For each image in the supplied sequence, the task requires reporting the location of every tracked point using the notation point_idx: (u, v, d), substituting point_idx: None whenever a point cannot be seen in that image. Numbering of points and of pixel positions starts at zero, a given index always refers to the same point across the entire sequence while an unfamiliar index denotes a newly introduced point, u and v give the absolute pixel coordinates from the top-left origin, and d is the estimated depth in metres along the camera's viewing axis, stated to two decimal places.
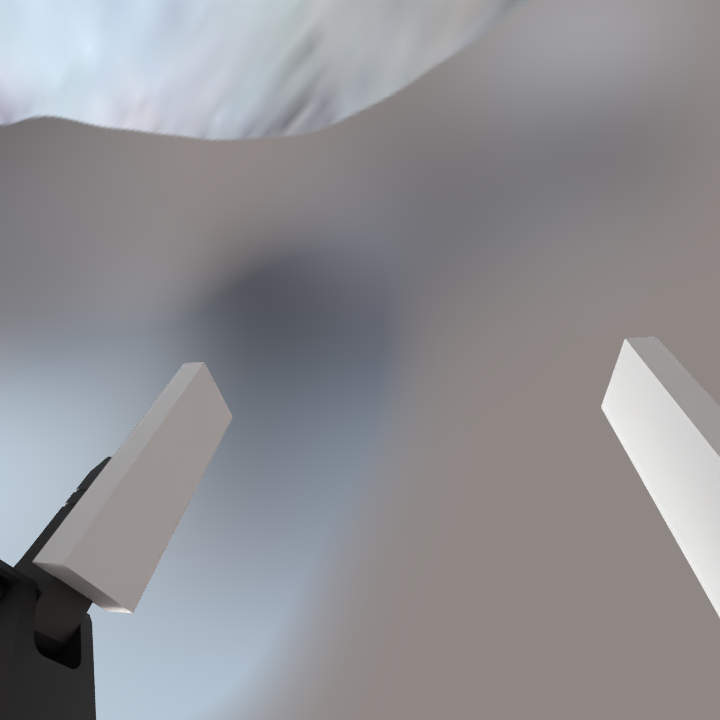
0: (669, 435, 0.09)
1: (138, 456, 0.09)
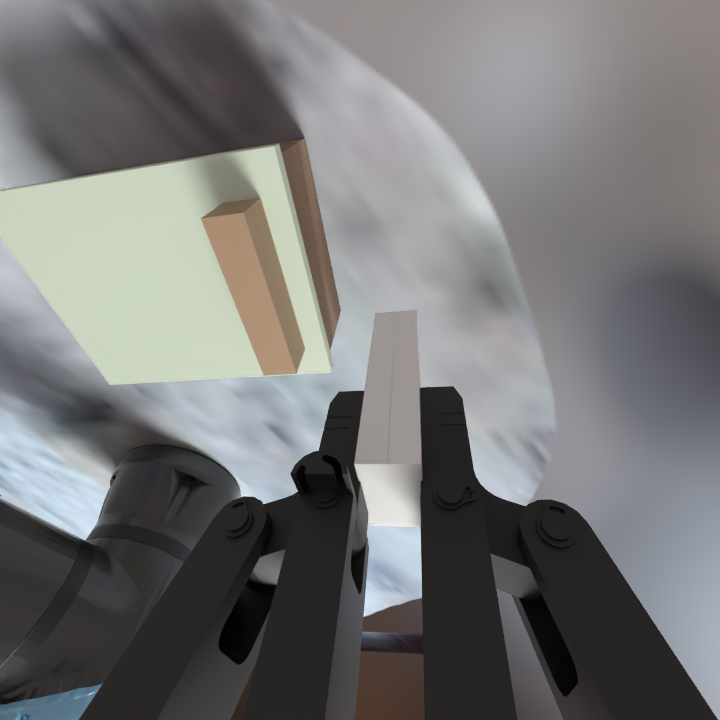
0: None
1: (392, 384, 0.10)
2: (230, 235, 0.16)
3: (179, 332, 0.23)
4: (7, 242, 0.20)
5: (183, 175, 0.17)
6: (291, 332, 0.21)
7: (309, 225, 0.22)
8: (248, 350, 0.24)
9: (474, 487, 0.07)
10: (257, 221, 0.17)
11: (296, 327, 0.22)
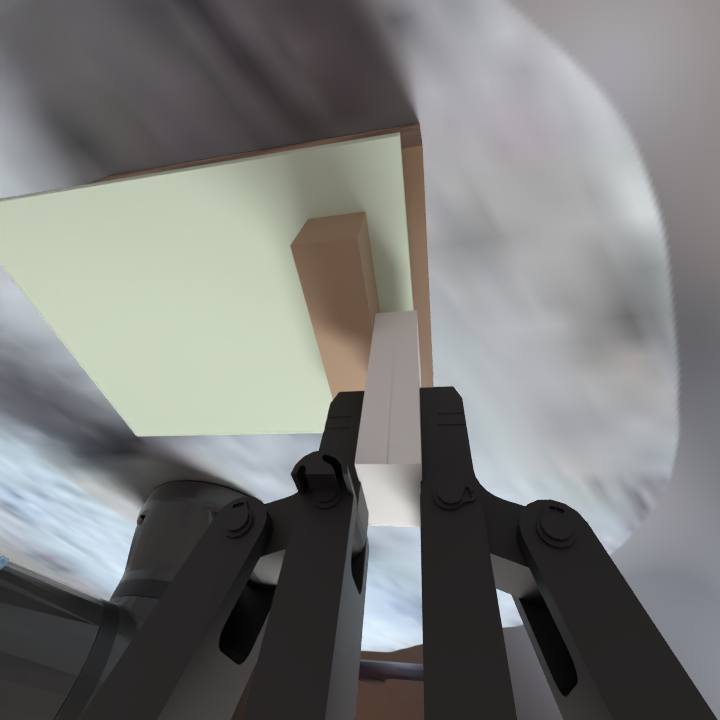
0: None
1: (392, 384, 0.10)
2: (330, 269, 0.11)
3: (229, 380, 0.18)
4: (9, 269, 0.15)
5: (256, 179, 0.12)
6: None
7: None
8: (317, 403, 0.18)
9: (474, 487, 0.07)
10: (365, 247, 0.12)
11: None
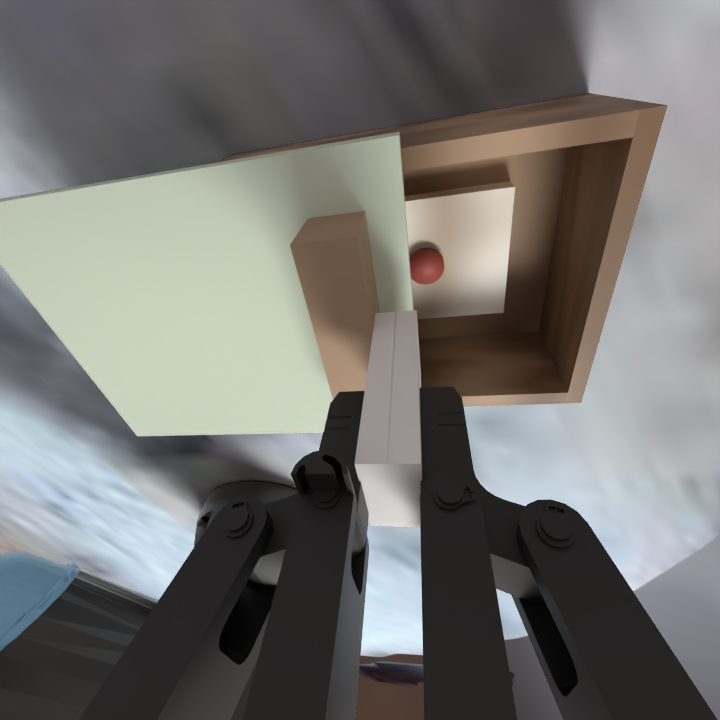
0: None
1: (392, 384, 0.10)
2: (330, 268, 0.11)
3: (229, 380, 0.18)
4: (9, 269, 0.15)
5: (256, 179, 0.12)
6: None
7: None
8: (317, 403, 0.18)
9: (474, 487, 0.07)
10: (364, 246, 0.12)
11: None
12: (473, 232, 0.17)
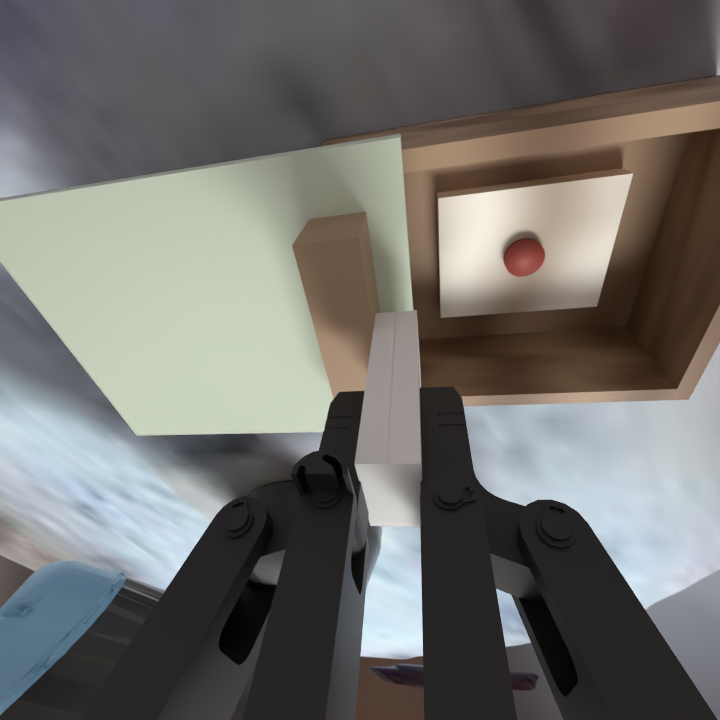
0: None
1: (392, 384, 0.10)
2: (332, 268, 0.11)
3: (229, 380, 0.18)
4: (10, 268, 0.15)
5: (258, 180, 0.12)
6: None
7: None
8: (317, 403, 0.18)
9: (474, 487, 0.07)
10: (366, 247, 0.12)
11: None
12: (579, 221, 0.17)
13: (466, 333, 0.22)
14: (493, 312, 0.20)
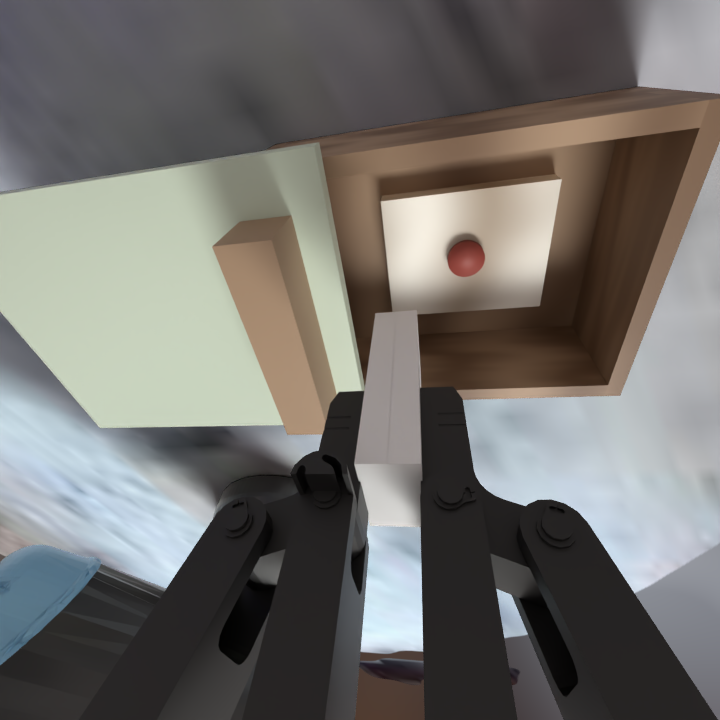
0: None
1: (391, 384, 0.10)
2: (251, 268, 0.12)
3: (182, 374, 0.19)
4: None
5: (188, 184, 0.13)
6: (324, 383, 0.16)
7: None
8: (267, 397, 0.19)
9: (474, 487, 0.07)
10: (288, 248, 0.13)
11: (329, 374, 0.17)
12: (516, 224, 0.18)
13: (421, 331, 0.23)
14: (442, 311, 0.21)
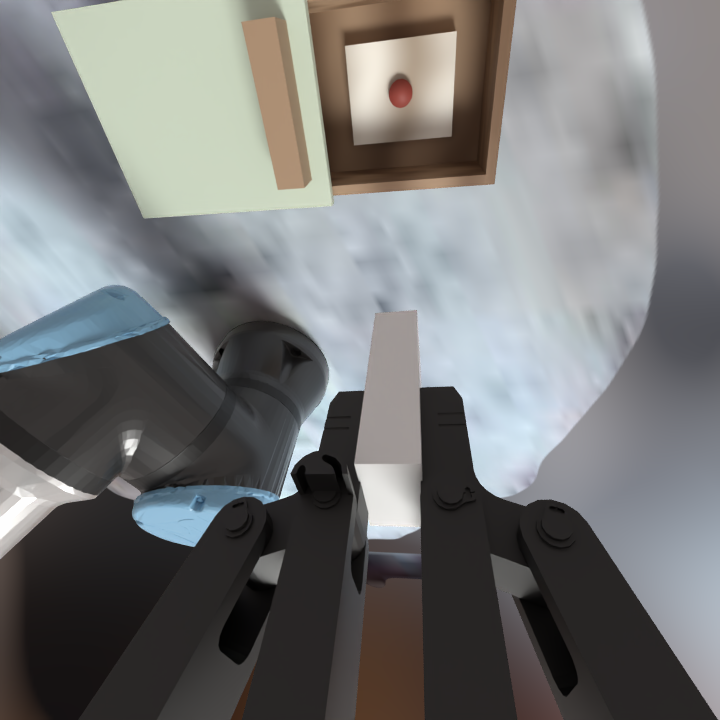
0: None
1: (392, 384, 0.10)
2: (262, 39, 0.21)
3: (208, 160, 0.28)
4: (75, 60, 0.25)
5: None
6: (302, 151, 0.26)
7: None
8: (265, 181, 0.29)
9: (474, 487, 0.07)
10: (283, 35, 0.22)
11: (306, 153, 0.27)
12: (431, 66, 0.27)
13: (375, 165, 0.33)
14: (387, 140, 0.30)
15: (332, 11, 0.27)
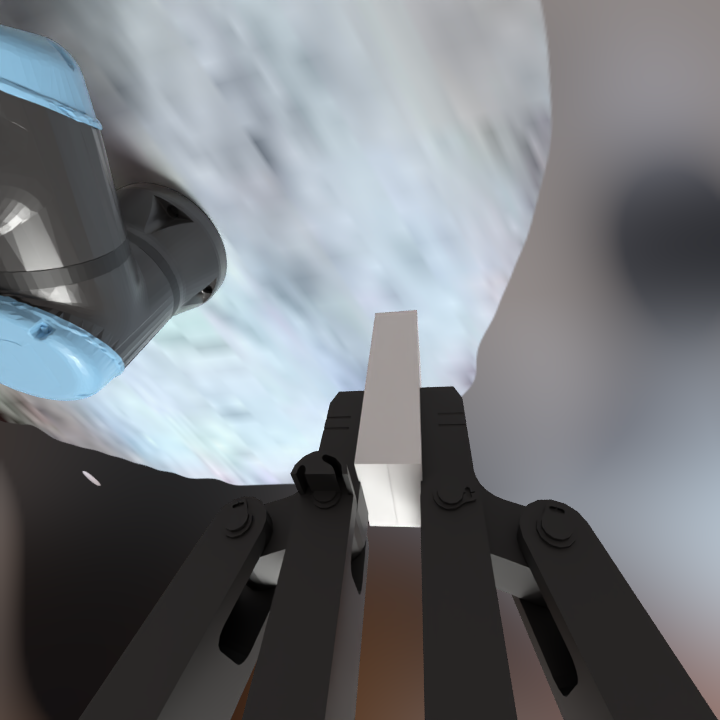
0: None
1: (391, 384, 0.10)
2: None
3: None
4: None
5: None
6: None
7: None
8: None
9: (474, 487, 0.07)
10: None
11: None
12: None
13: None
14: None
15: None
